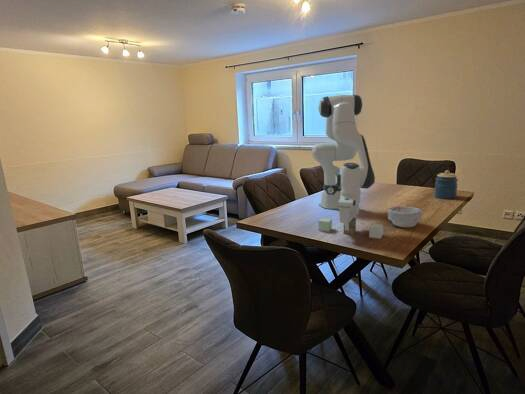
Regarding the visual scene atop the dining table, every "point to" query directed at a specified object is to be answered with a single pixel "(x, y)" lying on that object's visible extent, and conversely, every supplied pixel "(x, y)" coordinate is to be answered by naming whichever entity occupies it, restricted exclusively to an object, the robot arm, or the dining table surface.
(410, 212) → the paper bowls
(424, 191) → the dining table surface
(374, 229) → the grey cube
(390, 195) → the dining table surface
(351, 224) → the walnut block
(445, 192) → the canister
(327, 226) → the sage cube
